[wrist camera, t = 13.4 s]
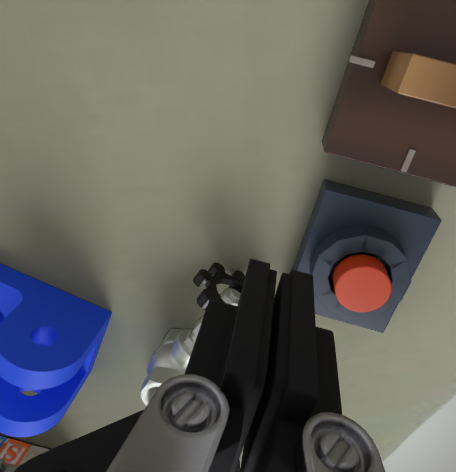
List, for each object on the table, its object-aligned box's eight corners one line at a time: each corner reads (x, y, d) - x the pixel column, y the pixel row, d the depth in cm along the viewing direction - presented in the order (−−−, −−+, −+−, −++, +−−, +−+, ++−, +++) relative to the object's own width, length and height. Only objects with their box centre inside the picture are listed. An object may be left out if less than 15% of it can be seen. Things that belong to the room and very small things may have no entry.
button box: (323, 179, 29) (327, 198, 26) (432, 207, 29) (451, 231, 26) (284, 290, 34) (283, 319, 30) (378, 316, 34) (388, 348, 30)
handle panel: (377, -46, 23) (389, -58, 21) (563, -1, 23) (600, -6, 20) (316, 140, 28) (318, 151, 26) (468, 180, 28) (487, 196, 25)
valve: (199, 374, 39) (273, 292, 34) (183, 432, 34) (268, 345, 28) (141, 338, 39) (208, 249, 33) (114, 392, 33) (189, 294, 28)
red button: (343, 247, 28) (345, 260, 26) (395, 261, 27) (401, 275, 26) (325, 290, 29) (327, 304, 28) (374, 303, 29) (379, 318, 28)
